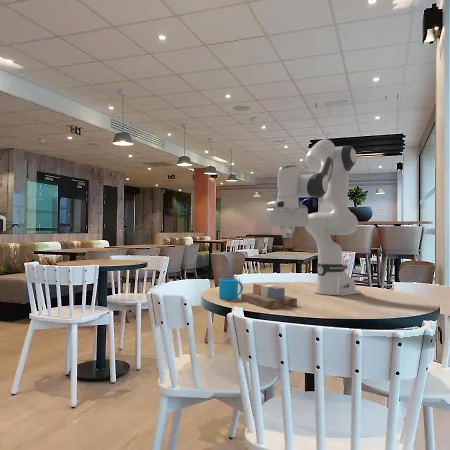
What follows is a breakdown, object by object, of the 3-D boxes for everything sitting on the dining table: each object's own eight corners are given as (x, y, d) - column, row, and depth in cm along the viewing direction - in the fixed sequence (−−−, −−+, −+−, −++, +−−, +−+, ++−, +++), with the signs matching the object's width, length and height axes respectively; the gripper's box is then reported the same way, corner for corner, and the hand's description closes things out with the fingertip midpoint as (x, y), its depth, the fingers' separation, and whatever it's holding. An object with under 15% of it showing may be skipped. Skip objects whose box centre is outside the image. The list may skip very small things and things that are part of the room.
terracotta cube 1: (261, 293, 185) (261, 283, 185) (267, 294, 181) (267, 284, 181) (253, 294, 182) (253, 283, 182) (258, 295, 179) (258, 284, 179)
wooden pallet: (268, 298, 188) (268, 291, 188) (296, 306, 171) (296, 298, 171) (241, 300, 182) (241, 293, 182) (267, 308, 164) (267, 300, 164)
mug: (226, 300, 182) (226, 281, 182) (215, 297, 188) (215, 279, 188) (248, 298, 189) (248, 279, 189) (236, 295, 196) (237, 277, 196)
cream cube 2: (269, 295, 179) (269, 284, 179) (275, 297, 175) (275, 286, 175) (260, 296, 177) (260, 285, 177) (266, 297, 173) (266, 286, 173)
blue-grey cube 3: (278, 297, 174) (278, 286, 174) (284, 299, 170) (284, 288, 170) (269, 298, 172) (269, 287, 172) (275, 300, 168) (275, 288, 168)
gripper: (302, 205, 185) (302, 237, 185) (263, 203, 175) (262, 237, 175) (312, 204, 179) (311, 237, 179) (271, 202, 170) (271, 237, 170)
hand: (287, 237), depth 177 cm, fingers closed
